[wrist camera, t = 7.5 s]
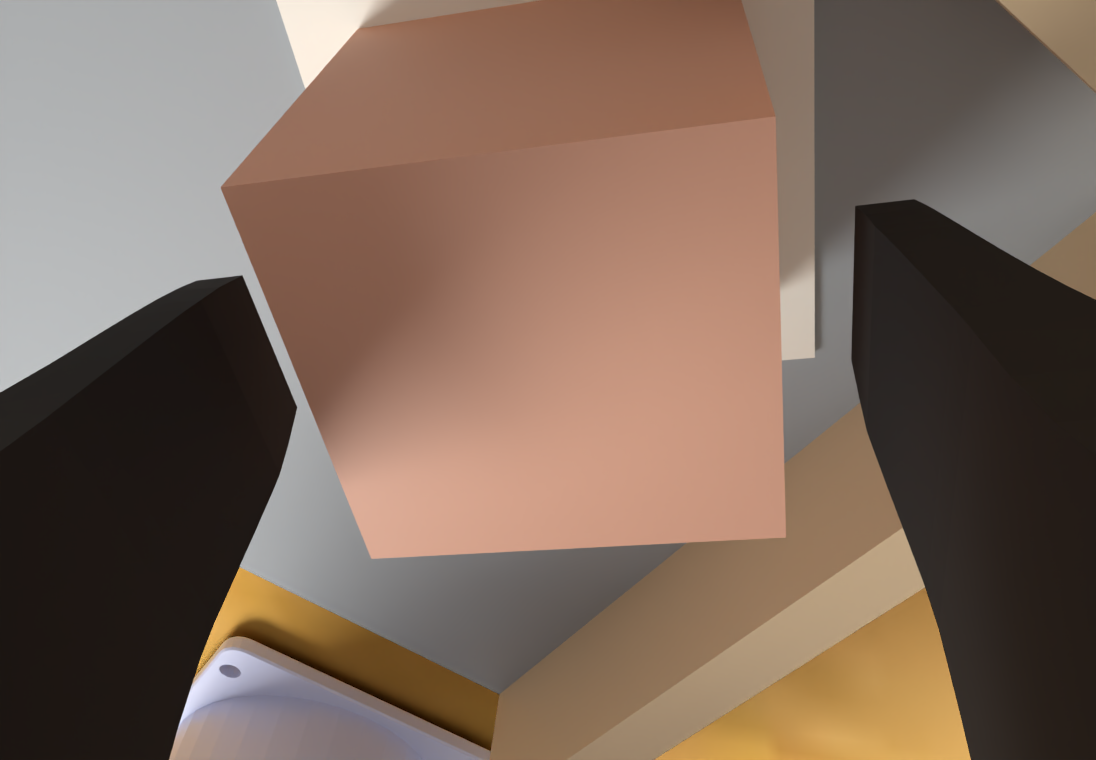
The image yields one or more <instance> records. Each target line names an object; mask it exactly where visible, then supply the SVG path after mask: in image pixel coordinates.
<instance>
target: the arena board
mask: <svg viewBox="0 0 1096 760" xmlns="http://www.w3.org/2000/svg"><path fill="white" fill-rule="evenodd" d="M304 90H305V87H304V84H303V81H302V78H301V75H300V72H299V68H298V65H297V62H296V59H295V56H294V53H293V50H292V47H291V44H290V41H289V38H288V35H287V32H286V29H285V26H284V23H283V20H282V17H281V14H280V11H279V8H278V5H277V1H276V0H0V392H2V391H4V390H5V389H7V388H9V387H11V386H12V385H14V384H16V383H17V382H19V381H21V380H23V379H24V378H26V377H28V376H30V375H31V374H33V373H35V372H37V371H38V370H40V369H42V368H44V367H45V366H47V365H49V364H50V363H52V362H54V361H55V360H57V359H59V358H60V357H62V356H63V355H65V354H67V353H68V352H70V351H72V350H73V349H75V348H77V347H78V346H80V345H81V344H83V343H85V342H86V341H88V340H90V339H91V338H93V337H95V336H96V335H98V334H99V333H101V332H103V331H104V330H106V329H108V328H109V327H111V326H113V325H114V324H116V323H117V322H119V321H121V320H122V319H124V318H126V317H127V316H129V315H131V314H132V313H134V312H136V311H138V310H139V309H141V308H143V307H144V306H146V305H148V304H150V303H151V302H153V301H155V300H157V299H159V298H160V297H162V296H164V295H166V294H168V293H170V292H172V291H174V290H176V289H178V288H180V287H182V286H185V285H187V284H190V283H192V282H195V281H197V280H206V279H215V278H224V277H232V276H241V275H243V278H244V280H245V283H246V285H247V287H248V290H249V292H250V295H251V297H252V299H253V302H254V304H255V307H256V309H257V312H258V314H259V316H260V319H261V321H262V324H263V326H264V328H265V331H266V333H267V336H268V338H269V340H270V343H271V345H272V348H273V350H274V353H275V355H276V357H277V360H278V362H279V365H280V367H281V369H282V372H283V374H284V377H285V379H286V381H287V384H288V386H289V389H290V391H291V394H292V396H293V398H294V401H295V403H296V406H297V411H296V415H295V419H294V424H293V428H292V432H291V436H290V440H289V444H288V448H287V451H286V455H285V458H284V462H283V465H282V469H281V472H280V475H279V478H278V480H277V483H276V485H275V487H274V490H273V492H272V494H271V497H270V499H269V501H268V504H267V506H266V508H265V511H264V513H263V515H262V517H261V520H260V522H259V524H258V527H257V529H256V531H255V533H254V536H253V538H252V540H251V542H250V544H249V547H248V549H247V551H246V553H245V556H244V558H243V560H242V562H241V564H240V567H241V568H243V569H245V570H247V571H249V572H251V573H253V574H255V575H257V576H259V577H261V578H263V579H265V580H267V581H269V582H271V583H273V584H275V585H277V586H279V587H281V588H284V589H286V590H288V591H290V592H292V593H294V594H296V595H298V596H300V597H302V598H304V599H306V600H308V601H310V602H312V603H314V604H316V605H318V606H320V607H322V608H324V609H326V610H328V611H330V612H332V613H335V614H337V615H339V616H341V617H343V618H345V619H347V620H349V621H351V622H353V623H355V624H357V625H359V626H361V627H363V628H365V629H367V630H369V631H371V632H373V633H375V634H377V635H379V636H381V637H383V638H385V639H388V640H390V641H392V642H394V643H396V644H398V645H400V646H402V647H404V648H406V649H408V650H410V651H412V652H414V653H416V654H418V655H420V656H422V657H424V658H426V659H428V660H430V661H432V662H434V663H436V664H439V665H441V666H443V667H445V668H447V669H449V670H451V671H453V672H455V673H457V674H459V675H461V676H463V677H465V678H467V679H469V680H471V681H473V682H475V683H477V684H479V685H481V686H483V687H485V688H487V689H490V690H492V691H494V692H496V693H498V694H499V700H498V707H497V713H496V720H495V727H494V733H493V740H492V747H491V753H490V760H654V759H656V758H657V757H659V756H660V755H662V754H664V753H665V752H667V751H668V750H670V749H671V748H673V747H675V746H676V745H678V744H679V743H681V742H682V741H684V740H686V739H687V738H689V737H690V736H692V735H693V734H695V733H697V732H698V731H700V730H701V729H703V728H704V727H706V726H708V725H709V724H711V723H712V722H714V721H715V720H717V719H719V718H720V717H722V716H723V715H725V714H726V713H728V712H730V711H731V710H733V709H734V708H736V707H737V706H739V705H741V704H742V703H744V702H745V701H747V700H748V699H750V698H752V697H753V696H755V695H756V694H758V693H759V692H761V691H763V690H764V689H766V688H767V687H769V686H771V685H772V684H774V683H775V682H777V681H778V680H780V679H782V678H783V677H785V676H786V675H788V674H789V673H791V672H793V671H794V670H796V669H797V668H799V667H800V666H802V665H804V664H805V663H807V662H808V661H810V660H811V659H813V658H815V657H816V656H818V655H819V654H821V653H822V652H824V651H826V650H827V649H829V648H830V647H832V646H833V645H835V644H837V643H838V642H840V641H841V640H843V639H844V638H846V637H848V636H849V635H851V634H852V633H854V632H855V631H857V630H859V629H860V628H862V627H863V626H865V625H866V624H868V623H870V622H871V621H873V620H874V619H876V618H877V617H879V616H881V615H882V614H884V613H885V612H887V611H888V610H890V609H892V608H893V607H895V606H896V605H898V604H900V603H901V602H903V601H904V600H906V599H907V598H909V597H911V596H912V595H914V594H915V593H917V592H918V591H920V590H922V589H923V588H925V585H924V583H923V580H922V578H921V575H920V572H919V570H918V567H917V564H916V562H915V559H914V556H913V554H912V551H911V548H910V546H909V543H908V540H907V538H906V535H905V533H904V530H903V527H902V525H901V522H900V519H899V517H898V514H897V511H896V509H895V506H894V503H893V501H892V498H891V496H890V493H889V490H888V488H887V485H886V482H885V480H884V477H883V474H882V471H881V469H880V466H879V463H878V461H877V458H876V455H875V453H874V450H873V447H872V444H871V442H870V439H869V436H868V433H867V430H866V426H865V421H864V417H863V412H862V408H861V404H860V399H859V394H858V390H857V385H856V380H855V375H854V371H853V366H852V361H851V350H852V311H853V272H854V232H855V206H858V205H867V204H876V203H885V202H893V201H902V200H911V199H915V200H917V201H919V202H921V203H924V204H925V205H927V206H929V207H931V208H933V209H935V210H936V211H938V212H940V213H941V214H943V215H945V216H946V217H948V218H950V219H952V220H953V221H955V222H956V223H958V224H960V225H961V226H963V227H965V228H966V229H968V230H970V231H971V232H973V233H975V234H976V235H978V236H980V237H981V238H983V239H985V240H986V241H988V242H990V243H991V244H993V245H995V246H997V247H998V248H1000V249H1002V250H1003V251H1005V252H1007V253H1008V254H1010V255H1012V256H1014V257H1015V258H1017V259H1019V260H1021V261H1022V262H1024V263H1026V264H1028V265H1030V266H1031V267H1033V268H1035V269H1037V270H1039V271H1040V272H1042V273H1044V274H1046V275H1048V276H1050V277H1052V278H1054V279H1055V280H1057V281H1059V282H1061V283H1063V284H1065V285H1067V286H1069V287H1071V288H1073V289H1075V290H1077V291H1079V292H1081V293H1083V294H1085V295H1087V296H1089V297H1091V298H1093V299H1095V300H1096V0H814V154H815V358H805V359H793V360H782V393H783V433H784V474H785V514H786V538H767V539H748V540H728V541H709V542H689V543H670V544H651V545H631V546H612V547H592V548H573V549H554V550H534V551H515V552H496V553H476V554H457V555H437V556H418V557H399V558H379V559H371V557H370V554H369V552H368V549H367V547H366V544H365V542H364V539H363V537H362V535H361V532H360V530H359V527H358V525H357V522H356V520H355V517H354V515H353V512H352V510H351V507H350V505H349V503H348V500H347V498H346V495H345V493H344V490H343V488H342V485H341V483H340V480H339V478H338V475H337V473H336V471H335V468H334V466H333V463H332V461H331V458H330V456H329V453H328V451H327V448H326V446H325V444H324V441H323V439H322V436H321V434H320V431H319V429H318V426H317V424H316V421H315V419H314V416H313V414H312V412H311V409H310V407H309V404H308V402H307V399H306V397H305V394H304V392H303V389H302V387H301V384H300V382H299V380H298V377H297V375H296V372H295V370H294V367H293V365H292V362H291V360H290V357H289V355H288V353H287V350H286V348H285V345H284V343H283V340H282V338H281V335H280V333H279V330H278V328H277V325H276V323H275V321H274V318H273V316H272V313H271V311H270V308H269V306H268V303H267V301H266V298H265V296H264V293H263V291H262V289H261V286H260V284H259V281H258V279H257V276H256V274H255V271H254V269H253V266H252V264H251V262H250V259H249V257H248V254H247V252H246V249H245V247H244V244H243V242H242V239H241V237H240V234H239V232H238V230H237V227H236V225H235V222H234V220H233V217H232V215H231V212H230V210H229V207H228V205H227V202H226V200H225V198H224V195H223V193H222V190H221V188H220V187H221V186H222V185H223V184H224V183H225V181H226V180H227V179H228V178H229V177H230V176H231V175H232V173H233V172H234V171H235V170H236V169H237V168H238V166H239V165H240V164H241V163H242V162H243V161H244V160H245V158H246V157H247V156H248V155H249V154H250V153H251V151H252V150H253V149H254V148H255V147H256V146H257V145H258V143H259V142H260V141H261V140H262V139H263V138H264V136H265V135H266V134H267V133H268V132H269V131H270V130H271V128H272V127H273V126H274V125H275V124H276V123H277V121H278V120H279V119H280V118H281V117H282V116H283V115H284V113H285V112H286V111H287V110H288V109H289V108H290V106H291V105H292V104H293V103H294V102H295V101H296V100H297V98H298V97H299V96H300V95H301V94H302V93H303V91H304Z"/></svg>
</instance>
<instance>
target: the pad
mask: <svg viewBox="0 0 1096 760" xmlns="http://www.w3.org/2000/svg"><path fill="white" fill-rule="evenodd" d="M276 1H277V5H278V8H279V11H280V14H281V17H282V20H283V23H284V26H285V29H286V32H287V35H288V38H289V41H290V44H291V47H292V50H293V53H294V56H295V59H296V62H297V65H298V68H299V72H300V75H301V78H302V81H303V84H304V87H305V89H306V88H307V87H308V86H309V85H310V83H311V82H312V81H313V80H314V79H315V78H316V76H317V75H318V74H319V73H320V72H321V71H322V70H323V68H324V67H325V66H326V65H327V64H328V63H329V61H330V60H331V59H332V58H333V57H334V56H335V55H336V53H337V52H338V51H339V50H340V49H341V48H342V46H343V45H344V44H345V43H346V42H347V41H348V40H349V38H350V37H351V36H352V35H353V34H354V33H355V31H356V30H357V29H360V28H366V27H373V26H379V25H386V24H392V23H399V22H405V21H411V20H418V19H424V18H431V17H437V16H443V15H450V14H456V13H463V12H469V11H476V10H482V9H488V8H495V7H501V6H508V5H514V4H521V3H527V2H533V1H540V0H276ZM741 1H742V4H743V8H744V11H745V14H746V18H747V21H748V25H749V28H750V31H751V35H752V38H753V41H754V45H755V48H756V52H757V55H758V58H759V62H760V65H761V68H762V72H763V75H764V79H765V82H766V85H767V89H768V92H769V96H770V99H771V102H772V106H773V109H774V112H775V116H776V150H777V191H778V231H779V272H780V312H781V352H782V360H793V359H805V358H815V154H814V0H741Z"/></svg>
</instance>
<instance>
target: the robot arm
mask: <svg viewBox="0 0 1096 760" xmlns="http://www.w3.org/2000/svg"><path fill="white" fill-rule="evenodd" d="M851 361H852V366H853V371H854V375H855V380H856V385H857V390H858V394H859V399H860V404H861V408H862V412H863V417H864V421H865V426H866V430H867V433H868V436H869V439H870V442H871V444H872V447H873V450H874V453H875V455H876V458H877V461H878V463H879V466H880V469H881V471H882V474H883V477H884V480H885V482H886V485H887V488H888V490H889V493H890V496H891V498H892V501H893V503H894V506H895V509H896V511H897V514H898V517H899V519H900V522H901V525H902V527H903V530H904V533H905V535H906V538H907V540H908V543H909V546H910V548H911V551H912V554H913V556H914V559H915V562H916V564H917V567H918V570H919V572H920V575H921V578H922V580H923V583H924V585H925V588H926V591H927V594H928V597H929V600H930V603H931V606H932V609H933V612H934V615H935V619H936V622H937V625H938V628H939V632H940V635H941V639H942V643H943V647H944V651H945V655H946V659H947V663H948V667H949V671H950V675H951V679H952V683H953V687H954V691H955V695H956V699H957V703H958V707H959V711H960V715H961V719H962V723H963V727H964V732H965V736H966V740H967V744H968V748H969V753H970V757H971V760H1096V300H1095V299H1093V298H1091V297H1089V296H1087V295H1085V294H1083V293H1081V292H1079V291H1077V290H1075V289H1073V288H1071V287H1069V286H1067V285H1065V284H1063V283H1061V282H1059V281H1057V280H1055V279H1054V278H1052V277H1050V276H1048V275H1046V274H1044V273H1042V272H1040V271H1039V270H1037V269H1035V268H1033V267H1031V266H1030V265H1028V264H1026V263H1024V262H1022V261H1021V260H1019V259H1017V258H1015V257H1014V256H1012V255H1010V254H1008V253H1007V252H1005V251H1003V250H1002V249H1000V248H998V247H997V246H995V245H993V244H991V243H990V242H988V241H986V240H985V239H983V238H981V237H980V236H978V235H976V234H975V233H973V232H971V231H970V230H968V229H966V228H965V227H963V226H961V225H960V224H958V223H956V222H955V221H953V220H952V219H950V218H948V217H946V216H945V215H943V214H941V213H940V212H938V211H936V210H935V209H933V208H931V207H929V206H927V205H925V204H924V203H921V202H919V201H917V200H915V199H911V200H902V201H893V202H885V203H876V204H867V205H858V206H855V232H854V272H853V311H852V350H851ZM296 411H297V406H296V403H295V401H294V398H293V396H292V394H291V391H290V389H289V386H288V384H287V381H286V379H285V377H284V374H283V372H282V369H281V367H280V365H279V362H278V360H277V357H276V355H275V353H274V350H273V348H272V345H271V343H270V340H269V338H268V336H267V333H266V331H265V328H264V326H263V324H262V321H261V319H260V316H259V314H258V312H257V309H256V307H255V304H254V302H253V299H252V297H251V295H250V292H249V290H248V287H247V285H246V283H245V280H244V278H243V275H241V276H232V277H224V278H215V279H206V280H197V281H195V282H192V283H190V284H187V285H185V286H182V287H180V288H178V289H176V290H174V291H172V292H170V293H168V294H166V295H164V296H162V297H160V298H159V299H157V300H155V301H153V302H151V303H150V304H148V305H146V306H144V307H143V308H141V309H139V310H138V311H136V312H134V313H132V314H131V315H129V316H127V317H126V318H124V319H122V320H121V321H119V322H117V323H116V324H114V325H113V326H111V327H109V328H108V329H106V330H104V331H103V332H101V333H99V334H98V335H96V336H95V337H93V338H91V339H90V340H88V341H86V342H85V343H83V344H81V345H80V346H78V347H77V348H75V349H73V350H72V351H70V352H68V353H67V354H65V355H63V356H62V357H60V358H59V359H57V360H55V361H54V362H52V363H50V364H49V365H47V366H45V367H44V368H42V369H40V370H38V371H37V372H35V373H33V374H31V375H30V376H28V377H26V378H24V379H23V380H21V381H19V382H17V383H16V384H14V385H12V386H11V387H9V388H7V389H5V390H4V391H2V392H0V760H490V753H491V751H489V750H487V749H485V748H483V747H481V746H479V745H477V744H474V743H472V742H470V741H468V740H466V739H464V738H462V737H460V736H457V735H455V734H453V733H451V732H449V731H447V730H445V729H442V728H440V727H438V726H436V725H434V724H432V723H430V722H427V721H425V720H423V719H421V718H419V717H417V716H415V715H412V714H410V713H408V712H406V711H404V710H402V709H400V708H397V707H395V706H393V705H391V704H389V703H387V702H385V701H382V700H380V699H378V698H376V697H374V696H372V695H370V694H368V693H365V692H363V691H361V690H359V689H357V688H355V687H353V686H350V685H348V684H346V683H344V682H342V681H340V680H338V679H335V678H333V677H331V676H329V675H327V674H325V673H323V672H320V671H318V670H316V669H314V668H312V667H310V666H308V665H305V664H303V663H301V662H299V661H297V660H295V659H293V658H290V657H288V656H286V655H284V654H282V653H280V652H278V651H276V650H273V649H271V648H269V647H267V646H265V645H263V644H261V643H258V642H256V641H254V640H252V639H249V638H246V637H240V636H236V637H231V638H228V639H227V640H225V641H224V642H223V643H222V645H221V646H220V647H219V648H218V650H217V651H216V652H215V653H214V654H213V656H212V657H211V658H210V659H209V660H208V662H207V663H206V664H205V665H204V667H203V668H202V669H201V670H200V671H199V673H198V674H197V675H196V676H195V673H196V670H197V667H198V664H199V661H200V658H201V655H202V653H203V650H204V647H205V645H206V642H207V640H208V637H209V635H210V632H211V630H212V627H213V625H214V622H215V620H216V618H217V616H218V613H219V611H220V609H221V607H222V604H223V602H224V600H225V598H226V596H227V593H228V591H229V589H230V587H231V584H232V582H233V580H234V578H235V576H236V573H237V571H238V569H239V567H240V564H241V562H242V560H243V558H244V556H245V553H246V551H247V549H248V547H249V544H250V542H251V540H252V538H253V536H254V533H255V531H256V529H257V527H258V524H259V522H260V520H261V517H262V515H263V513H264V511H265V508H266V506H267V504H268V501H269V499H270V497H271V494H272V492H273V490H274V487H275V485H276V483H277V480H278V478H279V475H280V472H281V469H282V465H283V462H284V458H285V455H286V451H287V448H288V444H289V440H290V436H291V432H292V428H293V424H294V419H295V415H296ZM194 676H195V678H194Z"/></svg>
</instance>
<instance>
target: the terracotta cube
mask: <svg viewBox="0 0 1096 760" xmlns="http://www.w3.org/2000/svg"><path fill="white" fill-rule="evenodd" d="M220 188H221V190H222V193H223V195H224V198H225V200H226V202H227V205H228V207H229V210H230V212H231V215H232V217H233V220H234V222H235V225H236V227H237V230H238V232H239V234H240V237H241V239H242V242H243V244H244V247H245V249H246V252H247V254H248V257H249V259H250V262H251V264H252V266H253V269H254V271H255V274H256V276H257V279H258V281H259V284H260V286H261V289H262V291H263V293H264V296H265V298H266V301H267V303H268V306H269V308H270V311H271V313H272V316H273V318H274V321H275V323H276V325H277V328H278V330H279V333H280V335H281V338H282V340H283V343H284V345H285V348H286V350H287V353H288V355H289V357H290V360H291V362H292V365H293V367H294V370H295V372H296V375H297V377H298V380H299V382H300V384H301V387H302V389H303V392H304V394H305V397H306V399H307V402H308V404H309V407H310V409H311V412H312V414H313V416H314V419H315V421H316V424H317V426H318V429H319V431H320V434H321V436H322V439H323V441H324V444H325V446H326V448H327V451H328V453H329V456H330V458H331V461H332V463H333V466H334V468H335V471H336V473H337V475H338V478H339V480H340V483H341V485H342V488H343V490H344V493H345V495H346V498H347V500H348V503H349V505H350V507H351V510H352V512H353V515H354V517H355V520H356V522H357V525H358V527H359V530H360V532H361V535H362V537H363V539H364V542H365V544H366V547H367V549H368V552H369V554H370V557H371V559H379V558H399V557H418V556H437V555H457V554H476V553H496V552H515V551H534V550H554V549H573V548H592V547H612V546H631V545H651V544H670V543H689V542H709V541H728V540H748V539H767V538H786V514H785V474H784V433H783V393H782V352H781V312H780V272H779V231H778V191H777V150H776V116H775V112H774V109H773V106H772V102H771V99H770V96H769V92H768V89H767V85H766V82H765V79H764V75H763V72H762V68H761V65H760V62H759V58H758V55H757V52H756V48H755V45H754V41H753V38H752V35H751V31H750V28H749V25H748V21H747V18H746V14H745V11H744V8H743V4H742V1H741V0H540V1H533V2H527V3H521V4H514V5H508V6H501V7H495V8H488V9H482V10H476V11H469V12H463V13H456V14H450V15H443V16H437V17H431V18H424V19H418V20H411V21H405V22H399V23H392V24H386V25H379V26H373V27H366V28H360V29H357V30H356V31H355V33H354V34H353V35H352V36H351V37H350V38H349V40H348V41H347V42H346V43H345V44H344V45H343V46H342V48H341V49H340V50H339V51H338V52H337V53H336V55H335V56H334V57H333V58H332V59H331V60H330V61H329V63H328V64H327V65H326V66H325V67H324V68H323V70H322V71H321V72H320V73H319V74H318V75H317V76H316V78H315V79H314V80H313V81H312V82H311V83H310V85H309V86H308V87H307V88H306V89H305V90H304V91H303V93H302V94H301V95H300V96H299V97H298V98H297V100H296V101H295V102H294V103H293V104H292V105H291V106H290V108H289V109H288V110H287V111H286V112H285V113H284V115H283V116H282V117H281V118H280V119H279V120H278V121H277V123H276V124H275V125H274V126H273V127H272V128H271V130H270V131H269V132H268V133H267V134H266V135H265V136H264V138H263V139H262V140H261V141H260V142H259V143H258V145H257V146H256V147H255V148H254V149H253V150H252V151H251V153H250V154H249V155H248V156H247V157H246V158H245V160H244V161H243V162H242V163H241V164H240V165H239V166H238V168H237V169H236V170H235V171H234V172H233V173H232V175H231V176H230V177H229V178H228V179H227V180H226V181H225V183H224V184H223V185H222V186H221V187H220Z"/></svg>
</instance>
